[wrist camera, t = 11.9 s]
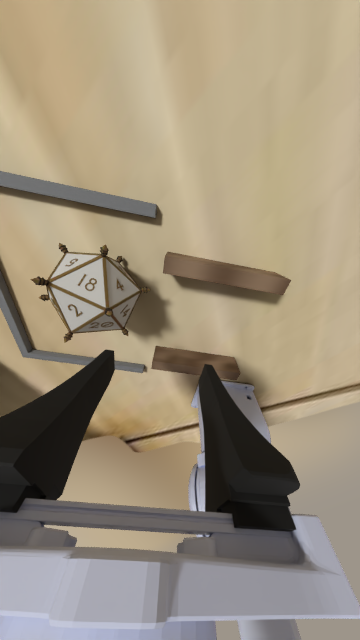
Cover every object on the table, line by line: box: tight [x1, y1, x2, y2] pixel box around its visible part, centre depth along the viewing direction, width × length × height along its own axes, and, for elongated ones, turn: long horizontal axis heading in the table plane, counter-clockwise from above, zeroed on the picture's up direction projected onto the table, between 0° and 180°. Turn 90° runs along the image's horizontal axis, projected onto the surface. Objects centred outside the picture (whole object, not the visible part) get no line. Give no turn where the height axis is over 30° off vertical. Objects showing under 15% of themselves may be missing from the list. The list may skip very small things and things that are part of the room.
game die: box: [31, 243, 150, 342], centre depth 15 cm, size 9×8×10 cm
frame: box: [0, 171, 157, 373], centre depth 19 cm, size 18×22×1 cm
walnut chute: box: [152, 252, 291, 380], centre depth 19 cm, size 12×14×3 cm
